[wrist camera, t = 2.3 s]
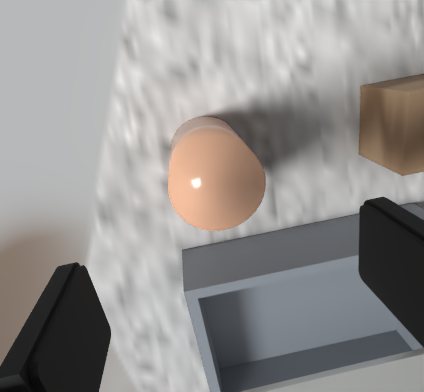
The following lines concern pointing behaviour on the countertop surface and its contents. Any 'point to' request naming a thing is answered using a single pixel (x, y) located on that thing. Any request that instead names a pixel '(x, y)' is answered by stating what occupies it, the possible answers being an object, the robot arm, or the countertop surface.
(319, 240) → the tote
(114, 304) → the countertop surface
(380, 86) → the walnut cube
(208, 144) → the terracotta cylinder
